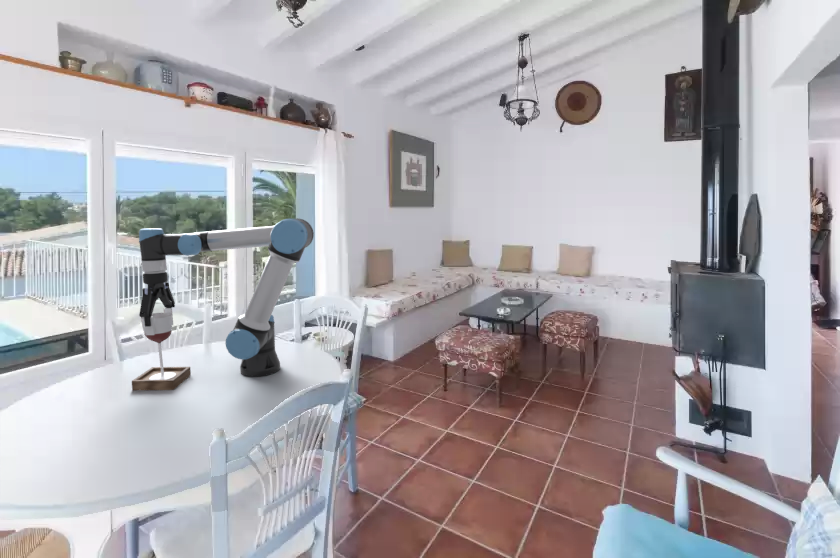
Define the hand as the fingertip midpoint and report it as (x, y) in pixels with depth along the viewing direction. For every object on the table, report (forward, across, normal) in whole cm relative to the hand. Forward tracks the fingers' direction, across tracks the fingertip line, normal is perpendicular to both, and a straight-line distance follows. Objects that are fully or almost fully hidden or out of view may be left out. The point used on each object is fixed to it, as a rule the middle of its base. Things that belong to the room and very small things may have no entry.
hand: (160, 329), depth 159 cm
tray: (+20, 0, -1) cm, 20 cm away
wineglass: (+18, 0, 0) cm, 18 cm away
